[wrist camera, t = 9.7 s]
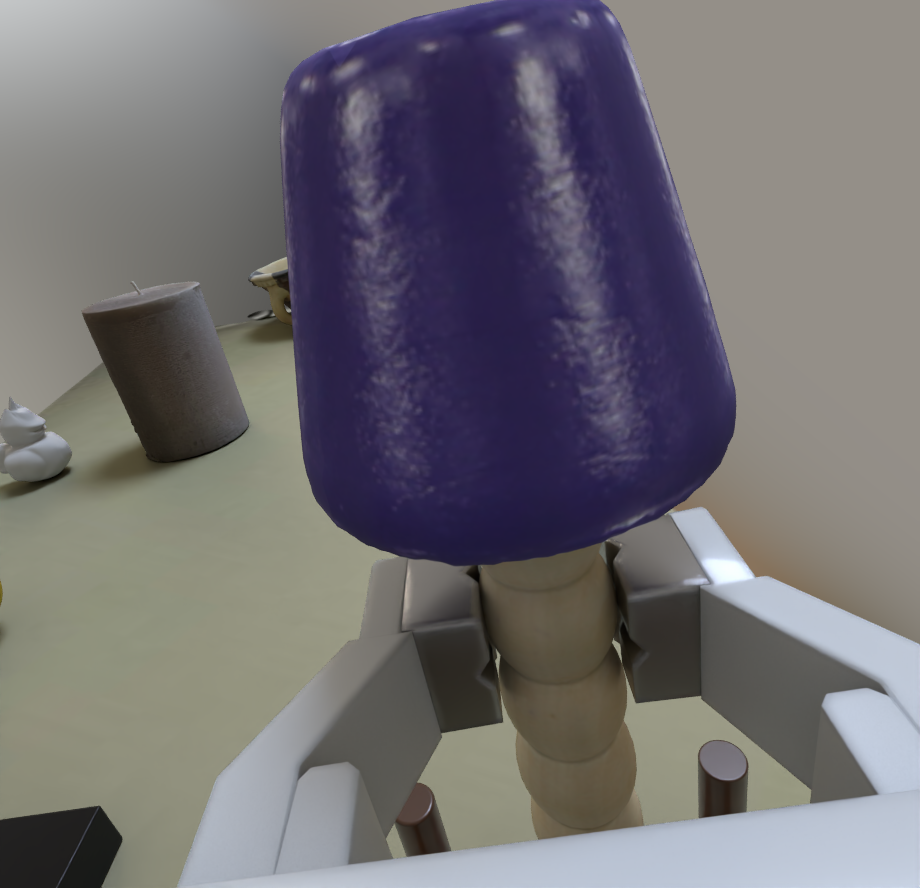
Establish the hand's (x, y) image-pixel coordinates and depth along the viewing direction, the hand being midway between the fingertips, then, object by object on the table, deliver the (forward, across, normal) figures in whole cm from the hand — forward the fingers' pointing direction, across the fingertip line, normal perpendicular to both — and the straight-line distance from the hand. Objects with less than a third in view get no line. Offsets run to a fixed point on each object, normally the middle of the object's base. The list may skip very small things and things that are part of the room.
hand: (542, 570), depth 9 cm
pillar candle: (+46, -28, -15) cm, 56 cm away
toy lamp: (-1, 0, -10) cm, 10 cm away
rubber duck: (+43, -42, -15) cm, 62 cm away
